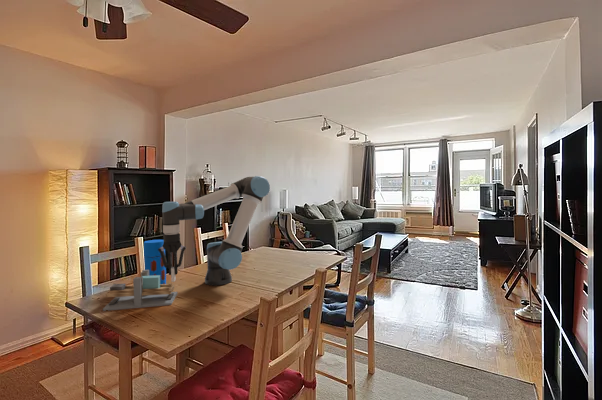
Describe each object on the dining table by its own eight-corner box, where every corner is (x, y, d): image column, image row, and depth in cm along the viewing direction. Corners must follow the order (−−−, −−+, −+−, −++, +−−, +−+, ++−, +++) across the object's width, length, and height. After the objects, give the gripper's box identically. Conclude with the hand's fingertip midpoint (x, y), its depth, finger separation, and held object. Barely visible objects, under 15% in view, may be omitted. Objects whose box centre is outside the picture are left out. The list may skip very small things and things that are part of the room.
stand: (177, 293, 166) (176, 267, 166) (171, 304, 150) (170, 276, 150) (116, 298, 160) (114, 271, 160) (102, 310, 144) (101, 281, 144)
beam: (174, 287, 164) (174, 270, 163) (170, 294, 152) (170, 276, 152) (114, 289, 158) (114, 272, 158) (104, 298, 146) (104, 279, 146)
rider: (160, 287, 159) (160, 275, 158) (158, 289, 155) (158, 277, 154) (142, 288, 157) (142, 275, 157) (140, 290, 153) (140, 278, 153)
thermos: (170, 283, 185) (168, 239, 184) (156, 288, 175) (154, 243, 174) (155, 281, 188) (153, 239, 187) (140, 287, 178) (139, 242, 177)
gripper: (186, 231, 162) (188, 277, 163) (159, 232, 159) (161, 280, 160) (184, 233, 154) (186, 282, 155) (155, 235, 152) (157, 284, 153)
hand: (173, 281), depth 158 cm, fingers closed
